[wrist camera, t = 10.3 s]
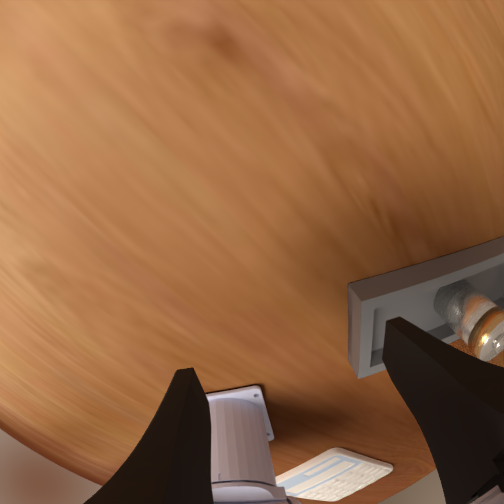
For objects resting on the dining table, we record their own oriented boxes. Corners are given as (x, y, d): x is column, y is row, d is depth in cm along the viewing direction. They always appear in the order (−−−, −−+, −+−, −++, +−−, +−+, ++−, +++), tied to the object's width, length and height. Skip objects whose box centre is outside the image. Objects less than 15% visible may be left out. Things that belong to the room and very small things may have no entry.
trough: (500, 298, 26) (514, 309, 23) (348, 359, 25) (358, 379, 23) (514, 232, 22) (530, 242, 20) (347, 283, 22) (361, 301, 20)
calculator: (331, 495, 42) (334, 503, 40) (257, 481, 35) (259, 492, 33) (392, 462, 39) (396, 470, 38) (334, 442, 32) (338, 454, 30)
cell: (463, 306, 24) (511, 353, 17) (431, 321, 24) (478, 375, 17) (468, 269, 22) (524, 314, 15) (435, 283, 22) (491, 336, 15)
